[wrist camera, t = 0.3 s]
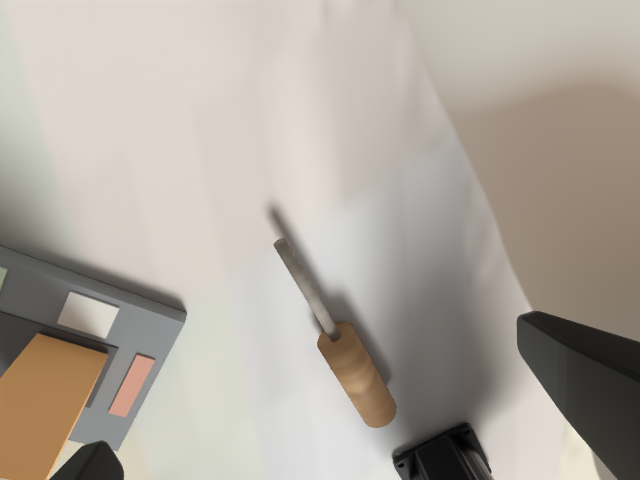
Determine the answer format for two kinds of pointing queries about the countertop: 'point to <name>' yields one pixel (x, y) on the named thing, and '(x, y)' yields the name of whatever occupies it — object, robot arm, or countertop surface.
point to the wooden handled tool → (344, 352)
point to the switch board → (88, 336)
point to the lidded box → (43, 404)
